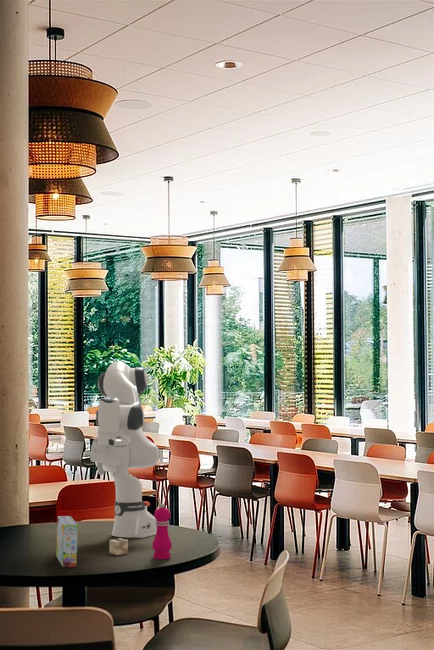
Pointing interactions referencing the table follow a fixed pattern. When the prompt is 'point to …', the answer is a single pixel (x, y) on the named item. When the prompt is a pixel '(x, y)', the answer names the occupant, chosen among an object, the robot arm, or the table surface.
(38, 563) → the table surface
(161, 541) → the pepper mill
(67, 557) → the snack box
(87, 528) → the table surface
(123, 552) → the letter cube
